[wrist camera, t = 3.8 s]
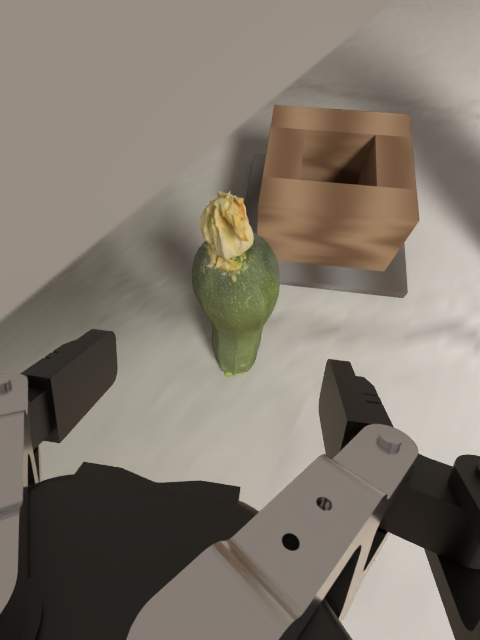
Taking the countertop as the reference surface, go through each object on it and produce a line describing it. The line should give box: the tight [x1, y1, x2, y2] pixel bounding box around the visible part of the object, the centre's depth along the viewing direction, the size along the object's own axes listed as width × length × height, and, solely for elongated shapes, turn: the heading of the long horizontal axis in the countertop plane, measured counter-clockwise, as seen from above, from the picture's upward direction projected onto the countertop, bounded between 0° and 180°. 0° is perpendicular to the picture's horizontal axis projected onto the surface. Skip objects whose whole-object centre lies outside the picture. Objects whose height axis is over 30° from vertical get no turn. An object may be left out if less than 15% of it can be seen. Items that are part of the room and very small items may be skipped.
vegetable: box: [192, 191, 280, 376], centre depth 20 cm, size 4×4×20 cm
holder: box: [245, 105, 419, 298], centre depth 31 cm, size 16×16×8 cm
